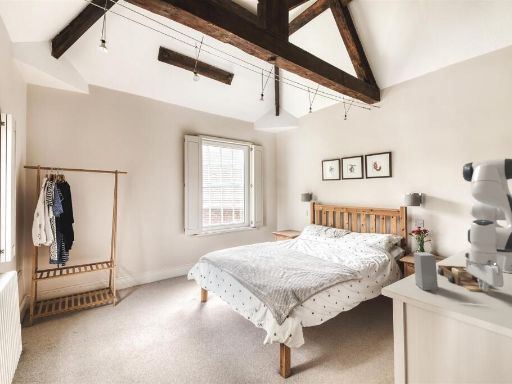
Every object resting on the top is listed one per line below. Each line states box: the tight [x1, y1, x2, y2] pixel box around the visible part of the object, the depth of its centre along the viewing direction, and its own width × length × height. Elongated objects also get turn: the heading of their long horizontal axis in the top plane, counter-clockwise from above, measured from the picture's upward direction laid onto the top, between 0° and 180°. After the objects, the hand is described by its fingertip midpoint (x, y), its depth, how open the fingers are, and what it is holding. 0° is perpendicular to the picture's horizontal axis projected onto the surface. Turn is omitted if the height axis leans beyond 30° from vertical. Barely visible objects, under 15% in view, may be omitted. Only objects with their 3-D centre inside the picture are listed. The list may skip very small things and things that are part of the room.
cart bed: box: [437, 264, 479, 287], centre depth 129 cm, size 15×21×4 cm
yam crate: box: [452, 268, 472, 281], centre depth 129 cm, size 6×6×5 cm
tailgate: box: [461, 285, 495, 294], centre depth 116 cm, size 9×1×6 cm
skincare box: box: [413, 251, 439, 291], centre depth 120 cm, size 8×7×16 cm
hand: (483, 290), depth 111 cm, fingers closed
